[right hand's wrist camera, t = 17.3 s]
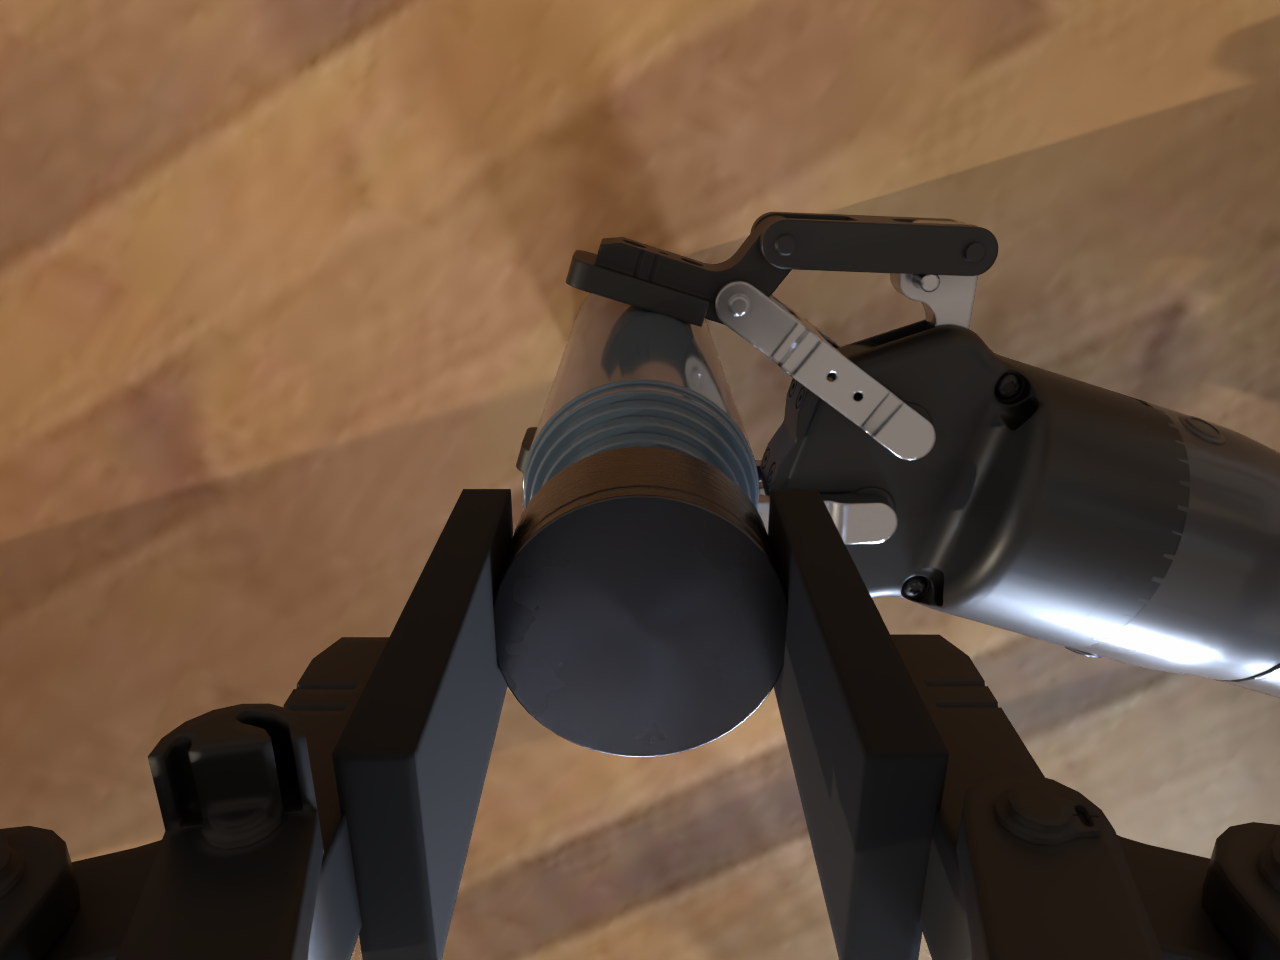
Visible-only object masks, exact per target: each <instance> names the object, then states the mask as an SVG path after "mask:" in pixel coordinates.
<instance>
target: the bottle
mask: <svg viewBox="0 0 1280 960" xmlns="http://www.w3.org/2000/svg"><path fill="white" fill-rule="evenodd" d="M635 446H642V447H658V448H665V449H671V450H675V451H679V452H682V453H685V454H689V455H692V456H694V457H696V458H698V459H701V460H703V461H705V462H707V463H709V464H710V465H712V466H714V467H715V468H717V469H719V470H720V471H722V472H723V473H724V474H726V475H727V476H728V477H729V478H731V479H732V480H733V481H734V482H735V483H736V484H737V485H738V486H739V487H740V488H741V489H742V490H743V491H744V492H745V493H746V494H747V496H748V497H749V499H750V500H751V501H752V503H753V504H754V506H755V507H756V509H757V508H758V500H759V477H758V471H757V465H756V462H755V459H754V456H753V453H752V450H751V447H750V444H749V441H748V438H747V436H746V433H745V430H744V427H743V424H742V421H741V419H740V416H739V413H738V410H737V407H736V405H735V402H734V399H733V396H732V393H731V390H730V388H729V385H728V382H727V379H726V376H725V374H724V371H723V368H722V365H721V362H720V359H719V357H718V354H717V351H716V348H715V345H714V342H713V340H712V337H711V334H710V331H709V328H708V326H707V323H706V320H705V318H704V321H703V324H702V327H699V326H696V325H693V324H690V323H686V322H683V321H680V320H677V319H674V318H672V317H669V316H665V315H662V314H657V313H654V312H651V311H648V310H644V309H641V308H638V307H635V306H632V305H628V304H625V303H622V302H619V301H615V300H612V299H609V298H606V297H603V296H599V295H596V294H593V293H591V294H590V295H589V296H588V298H587V299H586V300H585V301H584V303H583V304H582V306H581V308H580V310H579V312H578V314H577V316H576V319H575V322H574V325H573V328H572V331H571V333H570V336H569V339H568V342H567V345H566V348H565V351H564V353H563V356H562V359H561V362H560V365H559V368H558V371H557V373H556V376H555V379H554V382H553V385H552V388H551V391H550V393H549V396H548V399H547V402H546V405H545V408H544V411H543V413H542V416H541V419H540V422H539V425H538V428H537V431H536V433H535V436H534V439H533V442H532V445H531V448H530V451H529V454H528V457H527V460H526V463H525V467H524V474H523V480H522V497H523V505H524V510H525V508H526V507H527V505H528V504H529V502H530V501H531V499H532V498H533V497H534V495H535V494H536V493H537V492H538V491H539V490H540V488H541V487H542V486H543V485H544V484H545V483H547V482H548V481H549V480H550V479H551V478H552V477H553V476H554V475H556V474H557V473H559V472H560V471H562V470H563V469H565V468H566V467H568V466H569V465H571V464H573V463H575V462H577V461H579V460H581V459H583V458H585V457H588V456H591V455H593V454H596V453H599V452H602V451H607V450H612V449H616V448H624V447H635Z"/></svg>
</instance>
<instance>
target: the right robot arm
mask: <svg viewBox="0 0 1280 960" xmlns="http://www.w3.org/2000/svg"><path fill="white" fill-rule="evenodd" d="M768 537H769V540H770V543H771V546H772V549H773V553H774V556H775V559H776V562H777V565H778V568H779V571H780V574H781V578H782V581H783V584H784V587H785V590H786V593H787V597H788V610H787V625H786V640H785V655H784V666H783V669H782V671H781V673H780V676H779V678H778V680H777V682H776V683H775V685H774V690H775V694H776V698H777V702H778V706H779V710H780V715H781V719H782V723H783V727H784V731H785V735H786V740H787V744H788V748H789V752H790V756H791V760H792V765H793V769H794V773H795V777H796V781H797V785H798V790H799V794H800V798H801V802H802V806H803V810H804V814H805V819H806V823H807V827H808V831H809V835H810V839H811V844H812V848H813V852H814V856H815V860H816V864H817V869H818V873H819V877H820V881H821V885H822V889H823V894H824V898H825V902H826V906H827V910H828V914H829V919H830V923H831V927H832V931H833V935H834V939H835V944H836V948H837V952H838V956H839V960H918V957H919V950H920V943H921V937H922V931H923V934H924V937H925V940H926V943H927V945H928V948H929V951H930V954H931V957H932V960H1280V825H1274V824H1265V823H1255V822H1252V823H1247V824H1242V825H1236V826H1231V827H1229V828H1228V829H1227V830H1226V831H1225V832H1224V833H1222V834H1221V835H1220V836H1219V837H1218V838H1217V839H1216V843H1215V846H1214V850H1213V853H1212V857H1211V859H1208V858H1204V857H1200V856H1195V855H1191V854H1186V853H1182V852H1178V851H1173V850H1169V849H1164V848H1160V847H1155V846H1151V845H1147V844H1143V843H1140V842H1136V841H1133V840H1130V839H1126V838H1123V837H1120V836H1118V835H1116V832H1115V830H1114V828H1113V827H1112V825H1111V824H1110V822H1109V821H1108V819H1107V818H1106V816H1105V815H1104V813H1103V812H1102V810H1101V809H1099V808H1098V807H1097V806H1096V805H1094V804H1093V803H1092V802H1091V801H1089V800H1088V799H1087V798H1086V797H1084V796H1083V795H1082V794H1081V793H1079V792H1077V791H1075V790H1073V789H1071V788H1069V787H1067V786H1065V785H1063V784H1061V783H1058V782H1056V781H1054V780H1052V779H1048V778H1045V777H1044V775H1043V774H1042V772H1041V770H1040V769H1039V767H1038V766H1037V764H1036V762H1035V761H1034V759H1033V758H1032V756H1031V755H1030V753H1029V751H1028V750H1027V748H1026V747H1025V745H1024V743H1023V742H1022V740H1021V739H1020V737H1019V735H1018V734H1017V732H1016V731H1015V729H1014V727H1013V726H1012V724H1011V723H1010V721H1009V720H1008V718H1007V716H1006V715H1005V713H1004V712H1003V710H1002V708H998V702H997V700H996V699H995V697H994V696H993V694H992V692H991V691H990V689H989V688H988V686H985V684H984V682H985V681H984V680H983V678H982V677H981V675H980V673H979V672H978V670H977V669H976V667H975V665H974V664H973V662H972V661H971V659H970V657H969V656H968V655H966V654H965V653H964V652H962V651H961V650H960V649H958V648H957V647H955V646H954V645H953V644H951V643H950V642H949V641H947V640H946V639H945V638H943V637H942V636H940V635H890V634H889V632H888V630H887V628H886V626H885V624H884V622H883V620H882V618H881V616H880V614H879V612H878V610H877V608H876V606H875V604H874V601H873V599H872V597H871V595H870V593H869V591H868V589H867V587H866V585H865V583H864V581H863V579H862V577H861V575H860V573H859V571H858V569H857V567H856V565H855V563H854V561H853V559H852V557H851V555H850V553H849V551H848V549H847V547H846V545H845V543H844V541H843V539H842V537H841V535H840V533H839V531H838V529H837V527H836V525H835V523H834V521H833V519H832V517H831V515H830V513H829V511H828V509H827V507H826V505H825V503H824V501H823V499H822V497H821V495H820V493H819V491H818V489H770V503H769V521H768ZM512 539H513V523H512V505H511V489H463V491H462V493H461V495H460V497H459V499H458V501H457V503H456V505H455V507H454V509H453V511H452V513H451V515H450V517H449V519H448V521H447V523H446V525H445V527H444V529H443V531H442V533H441V535H440V537H439V539H438V541H437V543H436V545H435V547H434V549H433V551H432V553H431V555H430V557H429V559H428V561H427V563H426V565H425V567H424V569H423V571H422V573H421V575H420V577H419V579H418V581H417V583H416V585H415V587H414V589H413V591H412V593H411V595H410V597H409V599H408V601H407V603H406V605H405V607H404V609H403V611H402V613H401V615H400V617H399V619H398V621H397V623H396V625H395V628H394V630H393V632H392V634H391V636H390V637H342V638H341V639H339V640H338V641H336V642H335V643H334V644H332V645H331V646H330V647H328V648H327V649H326V650H324V651H323V652H322V653H320V654H319V655H317V656H316V657H315V658H313V659H312V661H311V662H310V664H309V666H308V667H307V669H306V670H305V672H304V674H303V675H302V677H301V679H300V680H299V682H298V683H297V689H294V690H293V691H292V693H291V695H290V696H289V698H288V699H287V701H286V703H285V704H284V708H283V707H279V706H276V705H272V704H240V705H235V706H230V707H226V708H221V709H217V710H212V711H210V712H208V713H205V714H203V715H201V716H198V717H196V718H194V719H191V720H189V721H186V722H184V723H183V724H182V725H180V726H179V727H177V728H176V729H174V730H173V731H172V732H170V733H169V734H167V735H166V736H164V737H163V738H162V739H161V740H160V741H159V743H158V744H157V745H156V747H155V748H154V749H153V751H152V752H151V753H150V754H149V756H148V759H149V764H150V768H151V772H152V776H153V780H154V784H155V788H156V793H157V797H158V801H159V805H160V809H161V813H162V818H163V822H164V826H165V830H166V831H165V834H164V836H163V839H162V840H160V841H157V842H154V843H150V844H147V845H144V846H140V847H137V848H133V849H129V850H124V851H120V852H115V853H111V854H106V855H102V856H98V857H93V858H89V859H84V860H80V861H76V862H71V859H70V856H69V853H68V849H67V846H66V842H64V841H63V840H62V839H61V838H60V837H59V836H58V835H57V834H56V833H55V832H54V831H52V830H48V829H42V828H37V827H32V826H24V827H15V828H5V829H0V960H350V958H351V955H352V953H353V950H354V947H355V944H356V941H357V938H358V935H359V937H360V944H361V951H362V957H363V960H442V956H443V951H444V947H445V943H446V939H447V935H448V931H449V926H450V922H451V918H452V914H453V910H454V906H455V901H456V897H457V893H458V889H459V885H460V881H461V876H462V872H463V868H464V864H465V860H466V856H467V851H468V847H469V843H470V839H471V835H472V831H473V826H474V822H475V818H476V814H477V810H478V806H479V801H480V797H481V793H482V789H483V785H484V781H485V776H486V772H487V768H488V764H489V760H490V756H491V751H492V747H493V743H494V739H495V735H496V731H497V726H498V722H499V718H500V714H501V710H502V706H503V701H504V697H505V693H506V689H507V684H506V682H505V680H504V678H503V676H502V674H501V672H500V670H499V667H498V663H497V657H496V642H495V627H494V611H493V601H494V597H495V594H496V590H497V587H498V584H499V580H500V577H501V574H502V571H503V568H504V565H505V561H506V558H507V555H508V552H509V549H510V545H511V542H512Z"/></svg>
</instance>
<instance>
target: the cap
mask: <svg viewBox="0 0 1280 960" xmlns="http://www.w3.org/2000/svg"><path fill="white" fill-rule="evenodd" d="M787 610H788V597H787V593H786V590H785V587H784V584H783V581H782V578H781V574H780V571H779V568H778V565H777V562H776V559H775V556H774V553H773V549H772V546H771V543H770V540H769V537H768V534H767V531H766V528H765V525H764V523H763V520H762V518H761V516H760V515H759V513H758V511H757V509H756V507H755V506H754V504H753V503H752V501H751V500H750V499H749V497H748V496H747V494H746V493H745V492H744V491H743V490H742V489H741V488H740V487H739V486H738V485H737V484H736V483H735V482H734V481H733V480H732V479H731V478H729V477H728V476H727V475H726V474H724V473H723V472H722V471H720V470H719V469H717V468H715V467H714V466H712V465H710V464H709V463H707V462H705V461H703V460H701V459H698V458H696V457H694V456H692V455H689V454H685V453H682V452H679V451H675V450H671V449H665V448H658V447H642V446H635V447H624V448H616V449H612V450H607V451H602V452H599V453H596V454H593V455H591V456H588V457H585V458H583V459H581V460H579V461H577V462H575V463H573V464H571V465H569V466H568V467H566V468H565V469H563V470H562V471H560V472H559V473H557V474H556V475H554V476H553V477H552V478H551V479H550V480H549V481H548V482H547V483H545V484H544V485H543V486H542V487H541V488H540V490H539V491H538V492H537V493H536V494H535V495H534V497H533V498H532V499H531V501H530V502H529V504H528V505H527V507H526V508H525V510H524V512H523V513H522V516H521V518H520V520H519V522H518V524H517V527H516V529H515V533H514V536H513V539H512V542H511V545H510V549H509V552H508V555H507V558H506V561H505V565H504V568H503V571H502V574H501V577H500V580H499V584H498V587H497V590H496V594H495V597H494V601H493V611H494V627H495V642H496V657H497V663H498V667H499V670H500V672H501V674H502V676H503V678H504V680H505V682H506V684H507V686H508V687H509V689H510V690H511V692H512V693H513V695H514V696H515V698H516V699H517V700H518V701H519V703H520V704H521V705H522V706H523V707H524V708H525V709H526V710H527V712H528V713H529V714H530V715H532V716H533V717H534V718H535V719H536V720H537V721H539V722H540V723H541V724H542V725H543V726H545V727H546V728H548V729H549V730H551V731H552V732H554V733H555V734H557V735H559V736H561V737H563V738H564V739H566V740H568V741H570V742H572V743H575V744H577V745H580V746H583V747H585V748H588V749H591V750H595V751H599V752H602V753H606V754H612V755H619V756H628V757H652V756H664V755H669V754H675V753H680V752H684V751H687V750H690V749H694V748H697V747H700V746H702V745H704V744H707V743H709V742H711V741H714V740H716V739H718V738H719V737H721V736H723V735H725V734H726V733H728V732H730V731H731V730H733V729H734V728H735V727H737V726H738V725H739V724H741V723H742V722H743V721H745V720H746V719H747V718H748V717H749V716H750V715H751V714H752V713H753V712H754V711H755V710H756V709H757V708H758V707H759V706H760V705H761V703H762V702H763V701H764V700H765V699H766V697H767V696H768V695H769V693H770V692H771V690H772V688H773V687H774V685H775V683H776V682H777V680H778V678H779V676H780V673H781V671H782V669H783V666H784V655H785V640H786V625H787Z"/></svg>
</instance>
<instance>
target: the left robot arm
mask: <svg viewBox="0 0 1280 960" xmlns="http://www.w3.org/2000/svg"><path fill="white" fill-rule="evenodd" d="M997 254H998V243H997V240H996V238H995V236H994V235H993V234H992V233H991V232H990V231H988V230H987V229H984V228H981V227H977V226H974V225H971V224H967V223H963V222H959V221H955V220H951V219H936V218H911V217H887V216H862V215H837V214H812V213H788V212H769V213H766V214H763V215H762V216H760V217H759V218H758V219H757V220H756V221H755V222H754V224H753V226H752V229H751V234H750V235H749V236H748V238H747V239H746V240H745V242H744V243H743V244H742V245H741V247H740V248H739V249H738V251H737V252H736V253H735V254H734V255H733V256H732V257H731V258H730V259H728V260H727V261H725V262H722V263H719V264H706V263H702V262H699V261H696V260H693V259H690V258H686V257H683V256H680V255H677V254H674V253H671V252H668V251H664V250H661V249H657V248H655V247H652V246H649V245H646V244H642V243H639V242H636V241H633V240H630V239H627V238H624V237H618V238H606V239H602V242H601V244H600V248H599V251H598V255H596V254H593V253H590V252H586V251H581V250H576V251H575V253H574V255H573V257H572V261H571V265H570V268H569V272H568V276H567V279H566V283H567V284H569V285H570V286H572V287H575V288H577V289H580V290H583V291H586V292H590V293H593V294H596V295H599V296H603V297H606V298H609V299H612V300H615V301H619V302H622V303H625V304H628V305H632V306H635V307H638V308H641V309H644V310H648V311H651V312H654V313H657V314H662V315H665V316H669V317H672V318H674V319H677V320H680V321H683V322H686V323H690V324H693V325H696V326H699V327H702V324H703V321H704V318H705V319H709V320H712V321H715V322H718V323H721V324H725V325H726V326H728V327H729V328H730V329H732V330H733V331H734V332H736V333H737V334H738V335H740V336H741V337H742V338H744V339H745V340H746V341H748V342H749V343H751V344H752V345H753V346H755V347H756V348H757V349H759V350H760V351H761V352H763V353H764V354H765V355H767V356H768V357H769V358H771V359H772V360H773V361H774V362H776V363H777V364H778V365H779V366H780V367H781V368H782V369H783V370H784V371H785V372H787V373H788V374H789V375H790V376H792V377H793V380H792V382H791V385H790V387H789V390H788V393H787V398H786V408H785V418H784V422H783V424H782V425H781V426H780V428H779V429H778V431H777V432H776V433H775V435H774V436H773V438H772V439H771V440H770V442H769V443H768V445H767V448H766V451H765V453H764V456H763V459H762V460H755V462H756V465H757V471H758V477H759V481H761V480H762V481H761V482H759V500H758V508H757V511H758V513H759V515H760V516H761V518H762V520H763V523H764V525H765V528H766V531H767V534H768V521H769V503H770V489H818V491H819V493H820V495H821V497H822V499H823V501H824V503H825V505H826V507H827V509H828V511H829V513H830V515H831V517H832V519H833V521H834V523H835V525H836V527H837V529H838V531H839V533H840V535H841V537H842V539H843V541H844V543H845V545H846V547H847V549H848V551H849V553H850V555H851V557H852V559H853V561H854V563H855V565H856V567H857V569H858V571H859V573H860V575H861V577H862V579H863V581H864V583H865V585H866V587H867V589H868V591H869V593H870V595H871V597H872V598H876V597H885V596H893V597H902V598H905V599H908V600H911V601H913V602H916V603H918V604H921V605H924V606H926V607H929V608H932V609H935V610H938V611H941V612H945V613H948V614H952V615H955V616H959V617H963V618H966V619H970V620H973V621H977V622H980V623H984V624H987V625H991V626H995V627H998V628H1002V629H1005V630H1009V631H1012V632H1016V633H1020V634H1023V635H1027V636H1030V637H1033V638H1037V639H1040V640H1044V641H1048V642H1051V643H1055V644H1058V645H1062V646H1065V648H1067V649H1069V650H1071V651H1073V652H1076V653H1078V654H1081V655H1084V656H1088V657H1098V658H1102V657H1105V658H1108V659H1112V660H1115V661H1119V662H1122V663H1126V664H1130V665H1134V666H1138V667H1142V668H1148V669H1153V670H1159V671H1165V672H1172V673H1181V674H1190V675H1197V676H1201V677H1206V678H1211V679H1214V680H1217V681H1221V682H1224V683H1228V684H1231V685H1235V686H1238V687H1242V688H1245V689H1249V690H1252V691H1256V692H1259V693H1263V694H1267V695H1270V696H1274V697H1277V698H1280V453H1279V452H1277V451H1274V450H1272V449H1270V448H1269V447H1267V446H1265V445H1263V444H1261V443H1259V442H1257V441H1255V440H1253V439H1251V438H1248V437H1246V436H1244V435H1242V434H1240V433H1237V432H1235V431H1233V430H1230V429H1228V428H1225V427H1222V426H1219V425H1217V424H1214V423H1211V422H1208V421H1204V420H1202V419H1200V418H1197V417H1193V416H1188V415H1185V414H1182V413H1179V412H1176V411H1172V410H1169V409H1166V408H1163V407H1160V406H1156V405H1153V404H1150V403H1147V402H1144V401H1141V400H1138V399H1135V398H1132V397H1129V396H1126V395H1122V394H1119V393H1116V392H1113V391H1110V390H1107V389H1103V388H1100V387H1097V386H1094V385H1091V384H1088V383H1085V382H1081V381H1078V380H1075V379H1072V378H1069V377H1066V376H1062V375H1059V374H1056V373H1053V372H1050V371H1047V370H1044V369H1040V368H1037V367H1034V366H1031V365H1028V364H1025V363H1021V362H1018V361H1015V360H1012V359H1009V358H1006V357H1003V356H1000V355H998V354H995V353H993V352H992V351H991V350H990V349H989V348H988V347H987V346H986V344H985V343H984V342H983V340H982V339H981V338H980V337H979V336H978V335H977V334H976V333H974V332H973V331H971V330H970V329H969V325H970V319H971V313H972V307H973V302H974V296H975V290H976V284H977V278H978V275H980V274H982V273H984V272H986V271H987V270H988V269H989V268H990V267H991V266H992V265H993V263H994V262H995V260H996V257H997ZM792 269H799V270H824V271H850V272H875V273H890V279H891V283H892V285H893V287H894V288H895V289H896V290H897V291H898V292H899V293H901V294H902V295H904V296H906V297H907V298H909V299H911V300H914V301H919V302H921V303H922V304H923V306H924V308H925V312H926V319H925V320H922V321H919V322H916V323H913V324H910V325H907V326H904V327H901V328H898V329H895V330H892V331H889V332H886V333H882V334H879V335H876V336H873V337H870V338H867V339H864V340H861V341H858V342H855V343H852V344H849V345H846V346H843V347H841V346H840V345H839V344H838V343H836V342H835V341H834V340H832V339H831V338H830V337H828V336H827V335H826V334H824V333H823V332H822V331H821V330H819V329H818V328H817V327H815V326H814V325H813V324H811V323H810V322H809V321H807V320H806V319H805V318H803V317H802V316H801V315H799V314H798V313H797V312H795V311H794V310H792V309H791V308H789V307H788V306H786V305H785V304H784V303H782V302H781V301H780V300H778V299H777V298H776V297H775V296H773V295H772V293H773V292H774V291H775V290H776V288H777V287H778V286H779V285H780V283H781V282H782V281H783V280H784V278H785V277H786V276H787V275H788V273H789V272H790V271H791V270H792ZM537 428H538V427H531V428H528V429H527V432H526V434H525V437H524V439H523V442H522V445H521V449H520V453H519V456H518V460H517V464H516V467H517V469H518V470H520V471H521V472H523V473H524V467H525V463H526V460H527V457H528V454H529V451H530V448H531V445H532V442H533V439H534V436H535V433H536V431H537Z"/></svg>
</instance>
